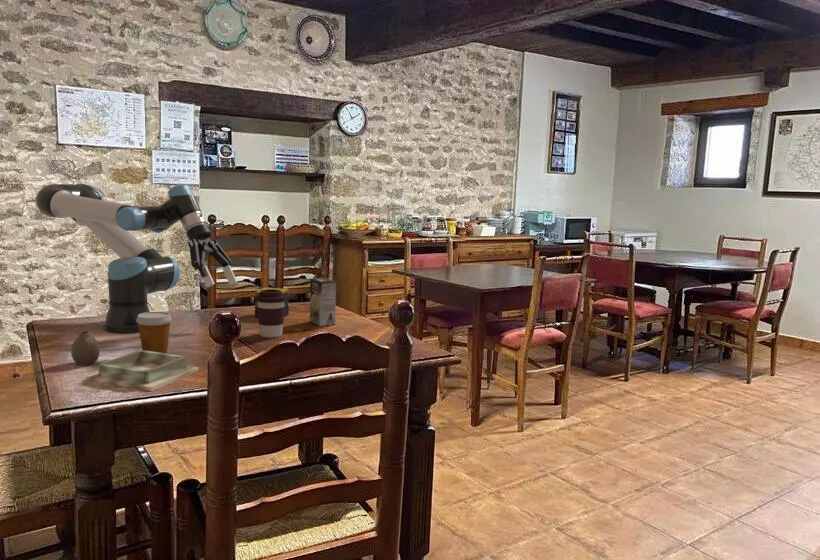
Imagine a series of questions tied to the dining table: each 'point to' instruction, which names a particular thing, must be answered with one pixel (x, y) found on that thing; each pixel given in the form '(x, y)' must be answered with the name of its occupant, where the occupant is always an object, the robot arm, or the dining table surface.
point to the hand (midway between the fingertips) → (222, 284)
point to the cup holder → (143, 370)
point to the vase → (85, 349)
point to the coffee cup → (270, 312)
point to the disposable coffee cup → (154, 331)
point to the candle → (285, 292)
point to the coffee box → (322, 301)
